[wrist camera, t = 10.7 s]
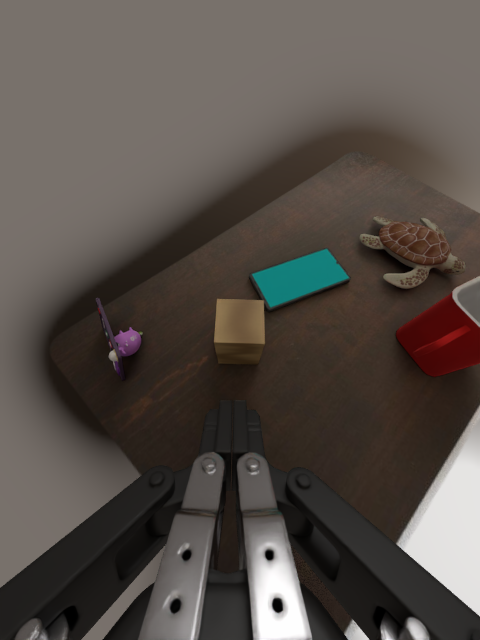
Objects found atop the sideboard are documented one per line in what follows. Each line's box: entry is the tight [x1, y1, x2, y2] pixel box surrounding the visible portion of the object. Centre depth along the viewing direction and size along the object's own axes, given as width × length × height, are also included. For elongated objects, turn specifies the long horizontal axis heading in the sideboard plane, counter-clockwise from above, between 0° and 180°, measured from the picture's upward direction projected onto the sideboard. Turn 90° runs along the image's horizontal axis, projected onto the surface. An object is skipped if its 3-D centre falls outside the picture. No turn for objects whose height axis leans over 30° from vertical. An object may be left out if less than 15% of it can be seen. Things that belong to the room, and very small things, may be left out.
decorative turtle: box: [360, 217, 465, 289], centre depth 40 cm, size 18×17×5 cm
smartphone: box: [249, 248, 351, 312], centre depth 39 cm, size 7×1×15 cm
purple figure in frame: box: [96, 298, 143, 381], centre depth 31 cm, size 7×5×9 cm
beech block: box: [214, 299, 265, 365], centre depth 30 cm, size 6×6×8 cm
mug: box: [396, 276, 480, 377], centre depth 29 cm, size 12×8×11 cm
